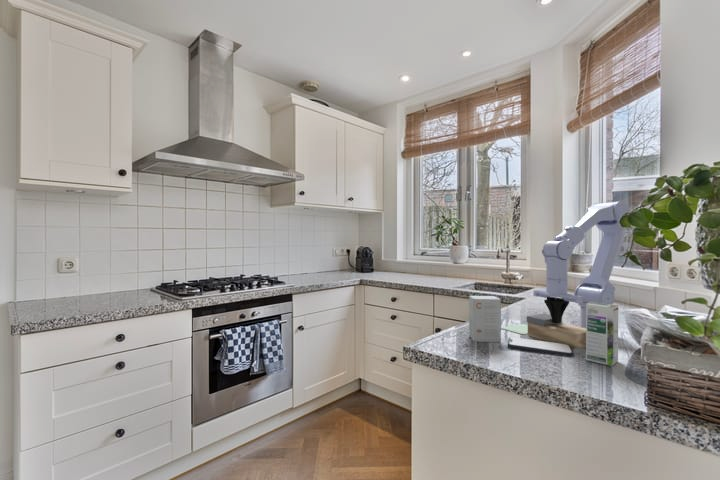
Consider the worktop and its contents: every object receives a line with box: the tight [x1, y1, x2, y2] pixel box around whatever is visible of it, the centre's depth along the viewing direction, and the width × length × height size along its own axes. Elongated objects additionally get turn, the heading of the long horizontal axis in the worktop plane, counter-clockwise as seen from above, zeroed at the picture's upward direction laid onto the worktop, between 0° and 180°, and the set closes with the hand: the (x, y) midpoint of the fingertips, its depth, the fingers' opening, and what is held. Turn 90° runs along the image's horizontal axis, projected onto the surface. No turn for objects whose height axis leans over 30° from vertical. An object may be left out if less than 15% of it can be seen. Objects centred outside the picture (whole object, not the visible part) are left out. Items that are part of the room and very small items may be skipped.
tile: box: [526, 313, 563, 326], centre depth 109 cm, size 9×6×2 cm, turn 118°
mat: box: [501, 323, 528, 336], centre depth 116 cm, size 12×9×1 cm
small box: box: [468, 295, 502, 343], centre depth 104 cm, size 8×6×13 cm
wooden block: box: [527, 322, 586, 350], centre depth 105 cm, size 10×15×4 cm, turn 27°
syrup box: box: [585, 302, 619, 367], centre depth 86 cm, size 6×6×14 cm
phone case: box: [507, 336, 574, 358], centre depth 96 cm, size 9×2×16 cm
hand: (556, 322), depth 106 cm, fingers closed
